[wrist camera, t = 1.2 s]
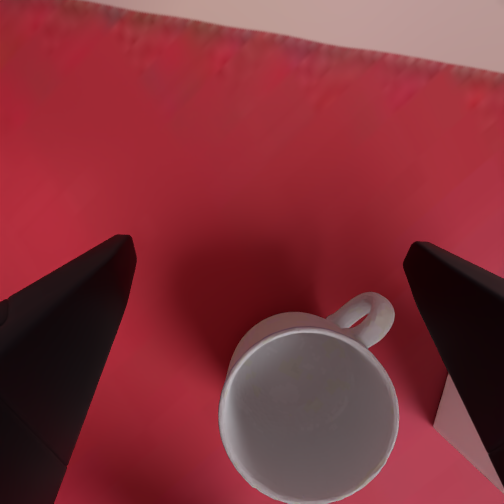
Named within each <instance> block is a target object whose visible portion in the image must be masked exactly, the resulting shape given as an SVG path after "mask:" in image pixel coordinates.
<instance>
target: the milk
mask: <svg viewBox="0 0 504 504" xmlns="http://www.w3.org/2000/svg"><path fill="white" fill-rule="evenodd" d="M433 428H434V429H435V430H436V431H437V432H438V433H440V434H441V435H442V436H443V437H444V438H445V439H446V440H447V441H448V442H449V443H450V444H451V445H452V446H453V447H454V448H455V449H457V450H458V451H459V452H460V453H461V454H462V455H463V456H464V457H465V458H466V459H467V460H468V461H469V462H470V463H471V464H472V465H474V466H475V467H476V468H477V469H478V470H479V471H480V472H481V473H482V474H483V475H484V476H485V477H486V478H487V479H488V480H489V481H491V482H492V483H493V484H494V485H495V486H496V487H497V488H498V489H499V490H500V491H501V492H502V493H503V494H504V487H503V485H502V483H501V481H500V479H499V477H498V475H497V473H496V471H495V469H494V467H493V465H492V462H491V460H490V458H489V456H488V454H489V453H487V452H486V449H485V447H484V445H483V443H482V441H481V439H480V437H479V435H478V433H477V431H476V429H475V427H474V424H473V422H472V420H471V418H470V416H469V414H468V412H467V410H466V408H465V406H464V404H463V402H462V399H461V397H460V395H459V393H458V391H457V389H456V387H455V385H454V383H453V381H452V379H451V377H450V375H449V373H448V376H447V380H446V383H445V387H444V390H443V394H442V397H441V401H440V404H439V407H438V411H437V414H436V418H435V421H434V425H433Z"/></svg>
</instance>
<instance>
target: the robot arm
mask: <svg viewBox="0 0 504 504" xmlns="http://www.w3.org/2000/svg"><path fill="white" fill-rule="evenodd" d="M136 263H137V257H136V252H135V248H134V244H133V240H132V237H131V236H130V235H115V236H113V237H111V238H109V239H108V240H106V241H104V242H103V243H101V244H99V245H98V246H96V247H94V248H92V249H91V250H89V251H87V252H86V253H84V254H82V255H80V256H79V257H77V258H75V259H74V260H72V261H70V262H68V263H67V264H65V265H63V266H62V267H60V268H58V269H56V270H55V271H53V272H51V273H50V274H48V275H46V276H44V277H43V278H41V279H39V280H38V281H36V282H34V283H32V284H31V285H29V286H27V287H26V288H24V289H22V290H20V291H19V292H17V293H15V294H14V295H12V296H10V297H9V298H8V299H5V300H3V301H1V302H0V504H54V502H55V499H56V496H57V494H58V491H59V488H60V485H61V483H62V480H63V477H64V475H65V472H66V469H67V467H66V466H67V465H68V463H69V460H70V458H71V455H72V452H73V450H74V447H75V444H76V441H77V439H78V436H79V433H80V431H81V428H82V425H83V422H84V420H85V417H86V414H87V412H88V409H89V406H90V404H91V401H92V398H93V395H94V393H95V390H96V387H97V385H98V382H99V379H100V376H101V374H102V371H103V368H104V366H105V363H106V360H107V357H108V355H109V352H110V349H111V347H112V344H113V341H114V339H115V336H116V333H117V330H118V328H119V325H120V322H121V320H122V317H123V314H124V311H125V308H126V305H127V302H128V298H129V294H130V289H131V285H132V280H133V276H134V272H135V267H136ZM403 268H404V271H405V274H406V277H407V280H408V283H409V285H410V288H411V291H412V294H413V297H414V300H415V302H416V305H417V307H418V310H419V312H420V314H421V316H422V318H423V320H424V322H425V325H426V327H427V329H428V331H429V333H430V335H431V337H432V339H433V341H434V343H435V345H436V347H437V350H438V352H439V354H440V356H441V358H442V360H443V362H444V364H445V366H446V368H447V370H448V372H449V375H450V377H451V379H452V381H453V383H454V385H455V387H456V389H457V391H458V393H459V395H460V397H461V399H462V402H463V404H464V406H465V408H466V410H467V412H468V414H469V416H470V418H471V420H472V422H473V424H474V427H475V429H476V431H477V433H478V435H479V437H480V439H481V441H482V443H483V445H484V447H485V449H486V452H487V453H489V454H488V456H489V458H490V460H491V462H492V465H493V467H494V469H495V471H496V473H497V475H498V477H499V479H500V481H501V483H502V485H503V487H504V279H503V278H501V277H499V276H497V275H495V274H493V273H491V272H489V271H487V270H485V269H483V268H481V267H479V266H477V265H475V264H473V263H470V262H468V261H466V260H464V259H462V258H460V257H458V256H456V255H454V254H452V253H450V252H448V251H446V250H444V249H442V248H440V247H438V246H436V245H434V244H431V243H429V242H420V241H416V242H414V243H413V244H412V245H411V247H410V249H409V251H408V253H407V255H406V257H405V259H404V262H403Z"/></svg>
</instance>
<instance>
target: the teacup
mask: <svg viewBox="0 0 504 504" xmlns="http://www.w3.org/2000/svg"><path fill="white" fill-rule="evenodd" d="M368 313H369V314H368ZM366 314H368V316H367V317H366V318H365V319H364V320H363V321H362V322H361V323H360V324H359V325H358V326H356V327H353V328H349V327H350V326H351V325H353V324H354V323H355V322H356V321H358V320H359V319H360V318H362V317H363V316H365V315H366ZM394 317H395V313H394V308H393V306H392V304H391V303H390V302H389V300H387V299H386V298H385V297H383V296H382V295H380V294H379V293H375V292H365V293H362V294H360V295H358V296H356V297H354V298H353V299H351V300H350V301H349V302H347V303H346V304H345V305H343V306H342V307H341V308H340V309H339V310H337V311H336V312H335V313H334V314H331V315H329V316H328V317H327V318H326V319H324V318H321V317H319V316H316V315H313V314H309V313H303V312H286V313H280V314H276V315H273V316H271V317H268V318H266V319H264V320H262V321H261V322H259V323H258V324H256V325H255V326H253V327H252V328H251V329H250V330H249V331H248V332H247V333H246V334H245V335H244V336H243V338H242V339H241V340H240V342H239V344H238V345H237V347H236V349H235V351H234V353H233V356H232V358H231V361H230V364H229V368H228V372H227V376H226V380H225V383H224V386H223V389H222V392H221V396H220V402H219V411H218V417H219V430H220V436H221V440H222V443H223V446H224V448H225V450H226V453H227V455H228V457H229V459H230V460H231V462H232V463H233V465H234V467H235V468H236V470H237V471H238V472H239V473H240V474H241V476H242V477H243V478H244V479H245V480H246V481H247V482H248V483H249V484H250V485H251V486H252V487H253V488H256V489H257V490H259V491H260V492H262V493H263V494H265V495H267V496H269V497H271V498H273V499H275V500H279V501H282V502H285V503H288V504H327V503H331V502H335V501H338V500H342V499H343V498H345V497H348V496H350V495H352V494H354V493H355V492H357V491H359V490H361V489H362V488H363V487H365V486H366V485H367V484H368V483H369V482H370V481H371V480H372V479H374V478H375V476H376V475H377V474H378V473H379V472H380V471H381V468H382V467H383V466H384V465H385V464H386V461H387V458H388V457H389V455H390V453H391V451H392V450H393V447H394V444H395V441H396V438H397V434H398V428H399V407H398V399H397V396H396V392H395V388H394V386H393V384H392V381H391V379H390V377H389V375H388V374H387V372H386V370H385V369H384V367H383V366H382V365H381V364H380V362H379V361H378V360H377V358H376V357H375V356H374V355H373V354H372V353H371V352H370V351H369V350H368V348H369V347H371V346H372V345H374V344H376V343H377V342H379V341H380V340H381V339H382V338H383V337H384V336H385V335H386V334H387V333H388V331H389V330H390V328H391V326H392V324H393V322H394Z"/></svg>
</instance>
